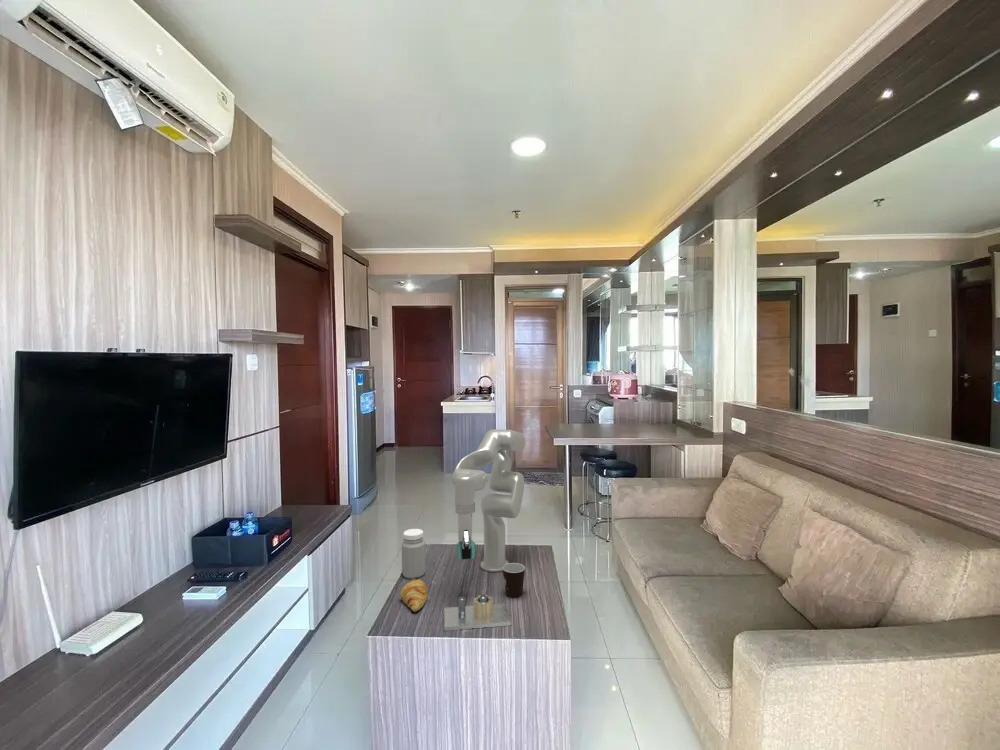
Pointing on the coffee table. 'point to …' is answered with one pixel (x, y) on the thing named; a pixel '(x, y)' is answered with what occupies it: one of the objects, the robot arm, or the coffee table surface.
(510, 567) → the coffee mug
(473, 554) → the gear
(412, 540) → the jar
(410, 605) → the croissant
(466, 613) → the board
